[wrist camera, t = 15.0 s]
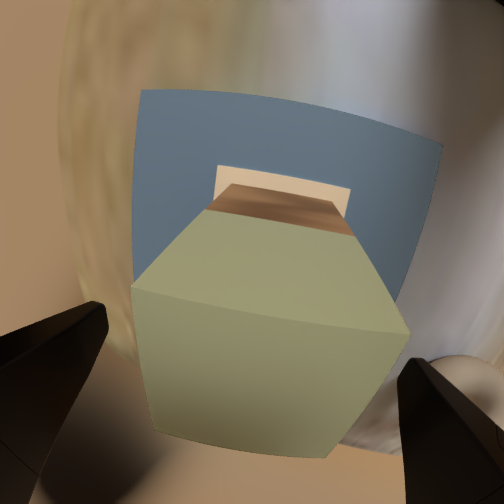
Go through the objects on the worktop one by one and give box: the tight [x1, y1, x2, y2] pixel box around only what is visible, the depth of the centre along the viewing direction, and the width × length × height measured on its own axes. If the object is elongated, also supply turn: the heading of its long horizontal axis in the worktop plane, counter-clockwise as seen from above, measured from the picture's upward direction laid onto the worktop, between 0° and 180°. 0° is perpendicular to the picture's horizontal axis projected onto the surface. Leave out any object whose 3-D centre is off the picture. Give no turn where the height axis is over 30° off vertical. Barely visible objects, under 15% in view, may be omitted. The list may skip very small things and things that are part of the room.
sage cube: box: [131, 209, 411, 458], centre depth 8 cm, size 5×5×5 cm
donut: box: [430, 355, 504, 431], centre depth 14 cm, size 10×3×10 cm, turn 92°
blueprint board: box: [132, 89, 443, 303], centre depth 15 cm, size 16×14×1 cm
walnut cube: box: [206, 183, 355, 237], centre depth 12 cm, size 5×5×5 cm
